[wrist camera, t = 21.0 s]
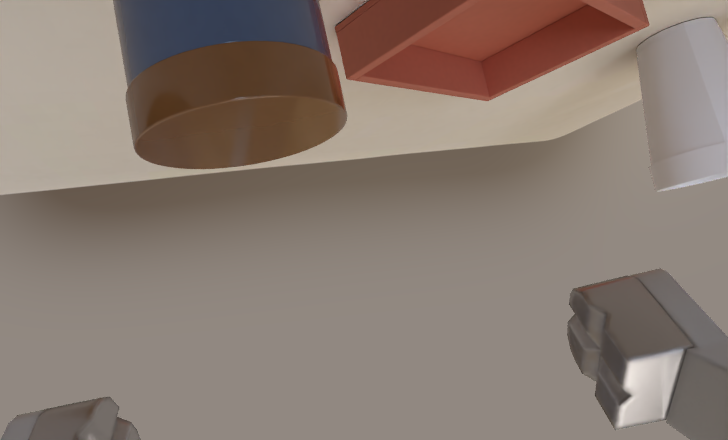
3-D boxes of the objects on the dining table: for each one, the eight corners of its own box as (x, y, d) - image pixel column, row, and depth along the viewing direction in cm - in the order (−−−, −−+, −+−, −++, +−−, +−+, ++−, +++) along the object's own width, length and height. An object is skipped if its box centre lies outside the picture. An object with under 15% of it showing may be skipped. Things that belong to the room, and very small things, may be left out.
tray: (334, 27, 32) (346, 79, 31) (511, -112, 23) (530, -41, 23) (477, 61, 43) (487, 101, 42) (635, -24, 34) (650, 25, 33)
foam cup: (623, 69, 53) (659, 193, 52) (610, 44, 45) (652, 190, 44) (735, 28, 48) (778, 164, 47) (742, -7, 40) (794, 155, 39)
